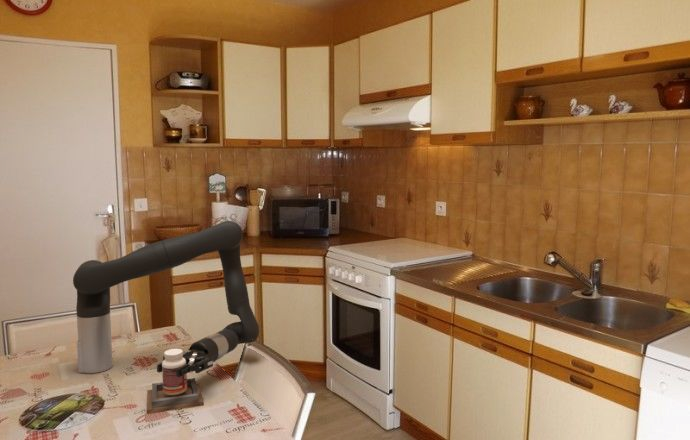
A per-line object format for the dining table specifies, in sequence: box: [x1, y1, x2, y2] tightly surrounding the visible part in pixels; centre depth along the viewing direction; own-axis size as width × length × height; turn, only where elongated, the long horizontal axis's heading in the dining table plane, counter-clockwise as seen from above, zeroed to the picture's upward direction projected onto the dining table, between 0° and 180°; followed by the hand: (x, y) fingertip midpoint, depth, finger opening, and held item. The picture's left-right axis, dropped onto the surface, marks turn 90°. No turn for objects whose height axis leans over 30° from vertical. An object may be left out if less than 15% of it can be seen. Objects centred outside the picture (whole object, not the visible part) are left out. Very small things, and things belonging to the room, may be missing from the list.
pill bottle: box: [161, 348, 188, 395], centre depth 140 cm, size 6×6×11 cm
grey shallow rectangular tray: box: [146, 377, 205, 415], centre depth 140 cm, size 14×12×3 cm
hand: (167, 371), depth 137 cm, fingers closed on pill bottle, 6 cm apart
